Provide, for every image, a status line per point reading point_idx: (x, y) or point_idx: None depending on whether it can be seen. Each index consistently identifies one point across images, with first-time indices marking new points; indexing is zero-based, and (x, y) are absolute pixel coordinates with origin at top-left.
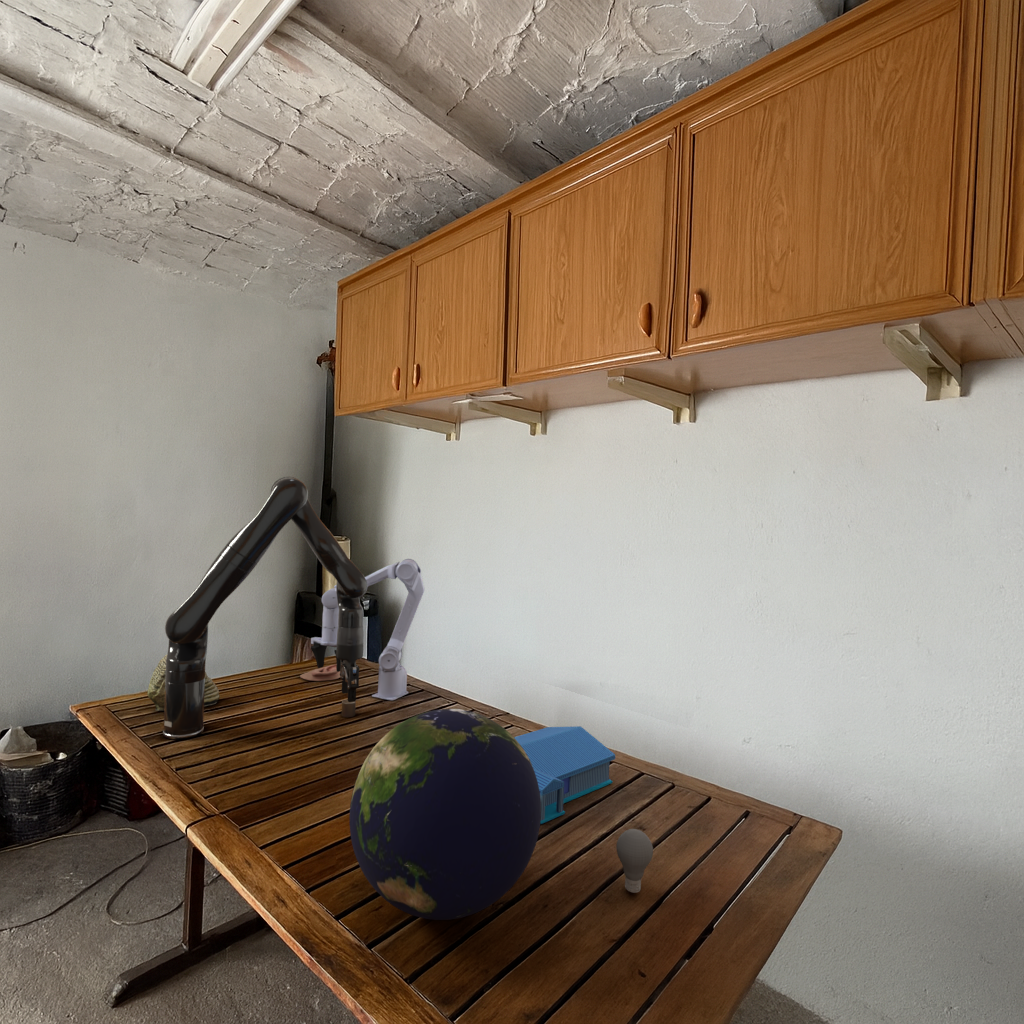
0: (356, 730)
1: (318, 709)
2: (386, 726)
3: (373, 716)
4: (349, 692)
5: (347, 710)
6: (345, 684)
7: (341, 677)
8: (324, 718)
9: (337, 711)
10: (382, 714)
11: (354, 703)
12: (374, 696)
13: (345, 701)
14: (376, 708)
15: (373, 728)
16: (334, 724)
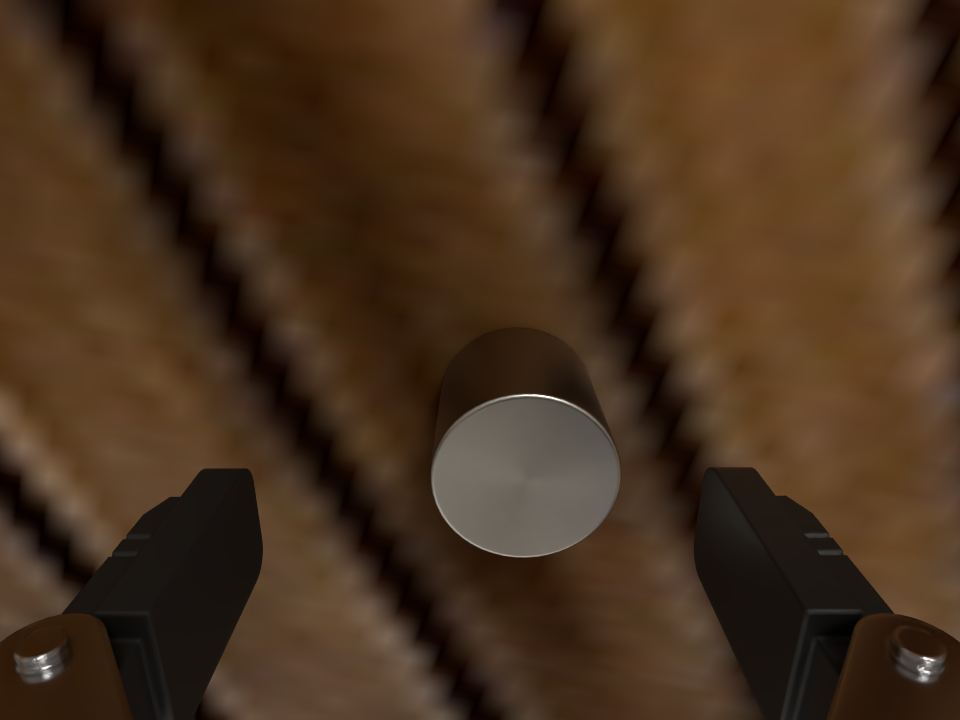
0: (22, 382)
1: (872, 98)
2: None
3: (397, 596)
4: (137, 583)
5: (439, 407)
6: (759, 609)
7: (914, 663)
8: (496, 115)
9: (686, 311)
10: (428, 669)
11: (459, 526)
12: None
13: (537, 440)
14: (611, 660)
15: (64, 532)
16: (249, 196)
